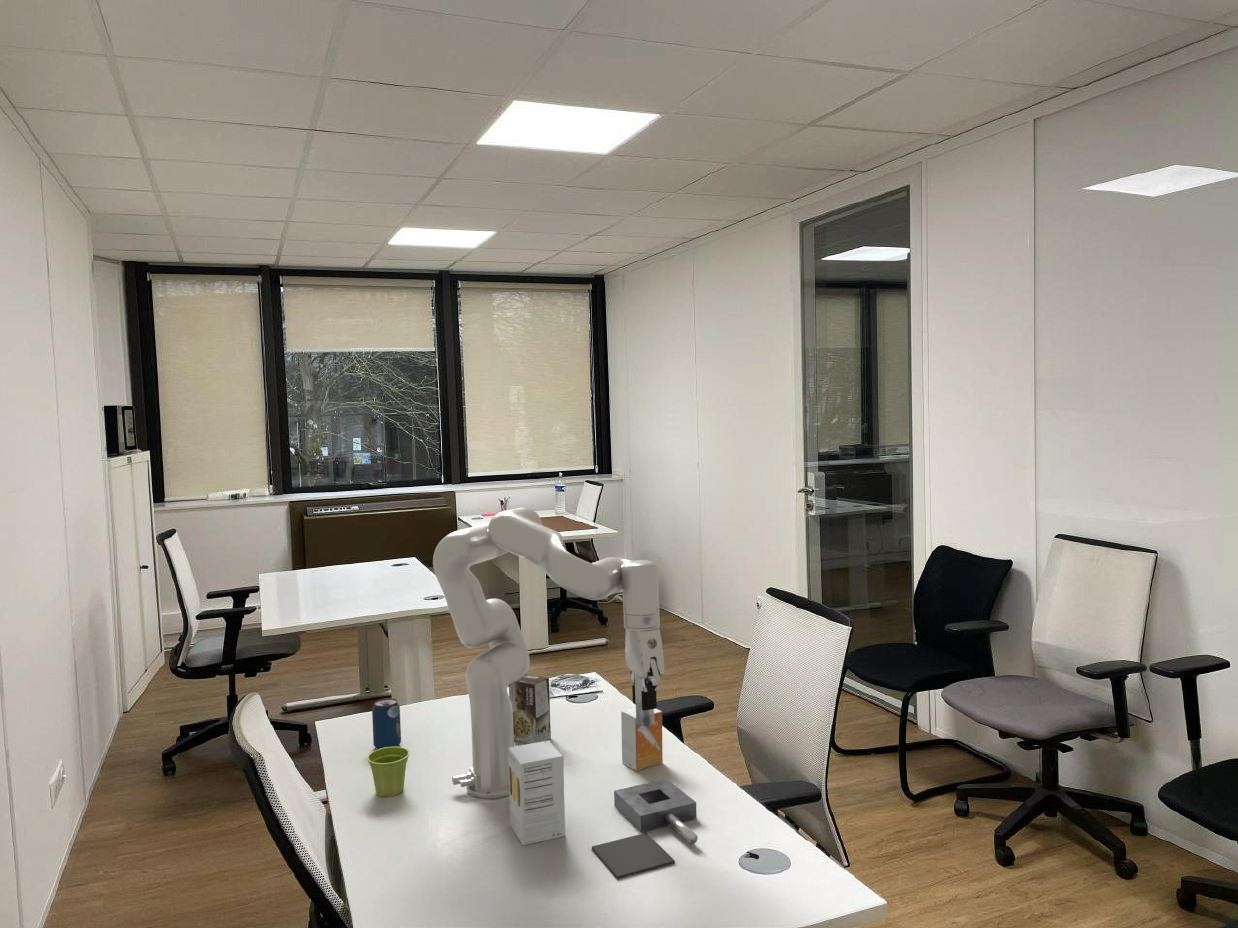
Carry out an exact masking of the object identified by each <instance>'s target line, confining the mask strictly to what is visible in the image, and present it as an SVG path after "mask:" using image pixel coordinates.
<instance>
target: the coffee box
mask: <svg viewBox="0 0 1238 928" xmlns="http://www.w3.org/2000/svg"><path fill="white" fill-rule="evenodd" d="M508 695H509V698H510V700H511V703H512V709H513V729H514V741H518V742H521V743H526V744H531V743H537V742H543V741H549V740H550V739H551V738H552V733H551V732H552V731H551V703H550V701H551V699H550V698H551V697H550V677H545V676H540V675H533V674H528V673H526V674H525V676H524V677H522V678H521V679H520V680H518V681H516V682H515V683H513V684H511V685H510V686H508Z"/></svg>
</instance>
